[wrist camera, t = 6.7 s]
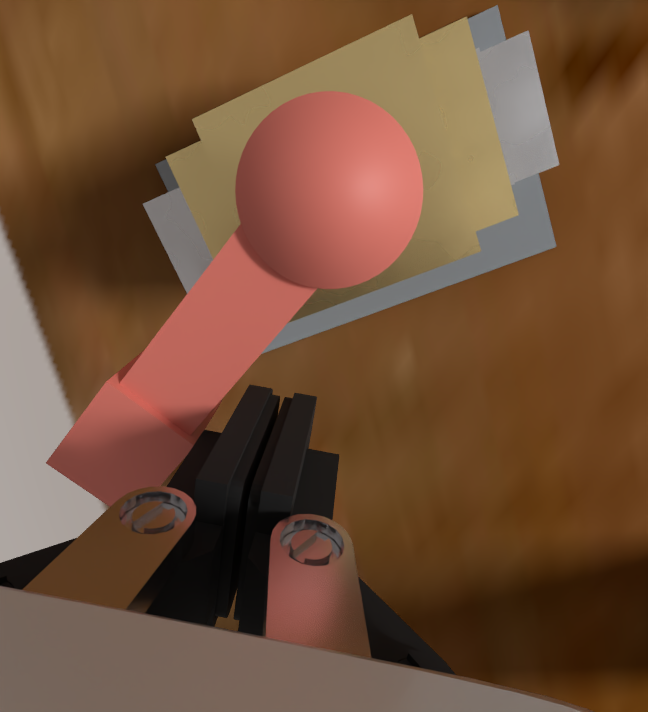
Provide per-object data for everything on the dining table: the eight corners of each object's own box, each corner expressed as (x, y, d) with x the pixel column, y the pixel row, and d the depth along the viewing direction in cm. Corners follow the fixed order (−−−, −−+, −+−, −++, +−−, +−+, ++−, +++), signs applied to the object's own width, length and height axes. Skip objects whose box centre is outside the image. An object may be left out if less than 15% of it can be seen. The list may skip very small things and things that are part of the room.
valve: (473, 33, 18) (590, -110, 9) (516, 196, 20) (649, 219, 11) (182, 166, 20) (35, 164, 11) (244, 301, 22) (161, 394, 13)
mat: (493, 10, 18) (497, 4, 17) (551, 244, 21) (556, 246, 20) (160, 164, 21) (155, 164, 20) (250, 354, 23) (247, 358, 23)
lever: (443, 182, 10) (463, 185, 8) (180, 476, 13) (148, 532, 11) (326, 69, 10) (316, 43, 8) (79, 404, 13) (25, 449, 11)
